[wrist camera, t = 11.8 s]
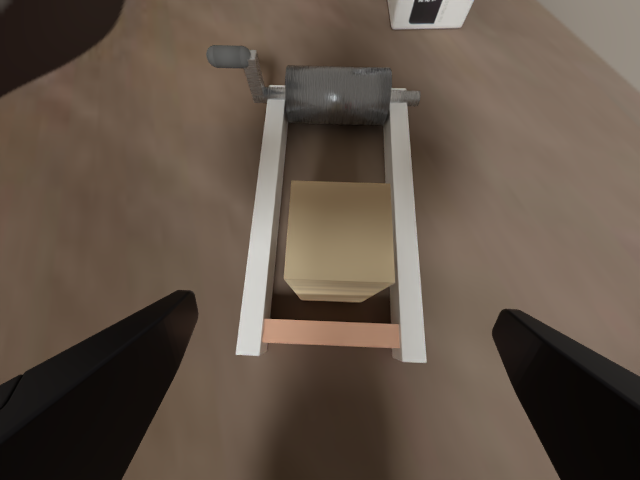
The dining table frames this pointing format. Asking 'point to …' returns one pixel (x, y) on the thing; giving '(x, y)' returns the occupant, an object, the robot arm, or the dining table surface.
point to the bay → (282, 107)
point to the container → (428, 13)
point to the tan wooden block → (339, 240)
